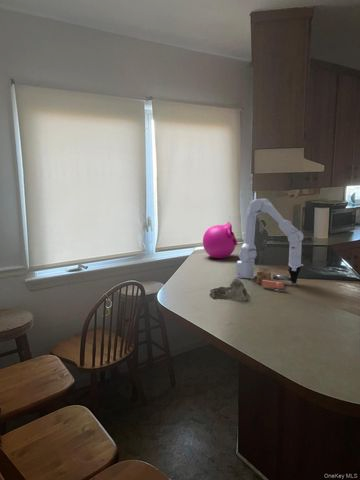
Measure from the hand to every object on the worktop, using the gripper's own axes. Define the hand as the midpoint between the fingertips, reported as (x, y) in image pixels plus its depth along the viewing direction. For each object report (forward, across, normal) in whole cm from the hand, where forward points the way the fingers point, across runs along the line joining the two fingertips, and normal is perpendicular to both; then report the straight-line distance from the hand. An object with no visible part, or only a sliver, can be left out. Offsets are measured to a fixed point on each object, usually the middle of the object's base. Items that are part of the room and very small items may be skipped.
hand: (294, 281), depth 176 cm
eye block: (+2, 0, +15) cm, 15 cm away
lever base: (+2, -12, +6) cm, 14 cm away
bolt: (+1, 0, +5) cm, 5 cm away
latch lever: (+1, -11, +9) cm, 15 cm away
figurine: (+2, +54, +52) cm, 75 cm away
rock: (+2, -28, +27) cm, 39 cm away
